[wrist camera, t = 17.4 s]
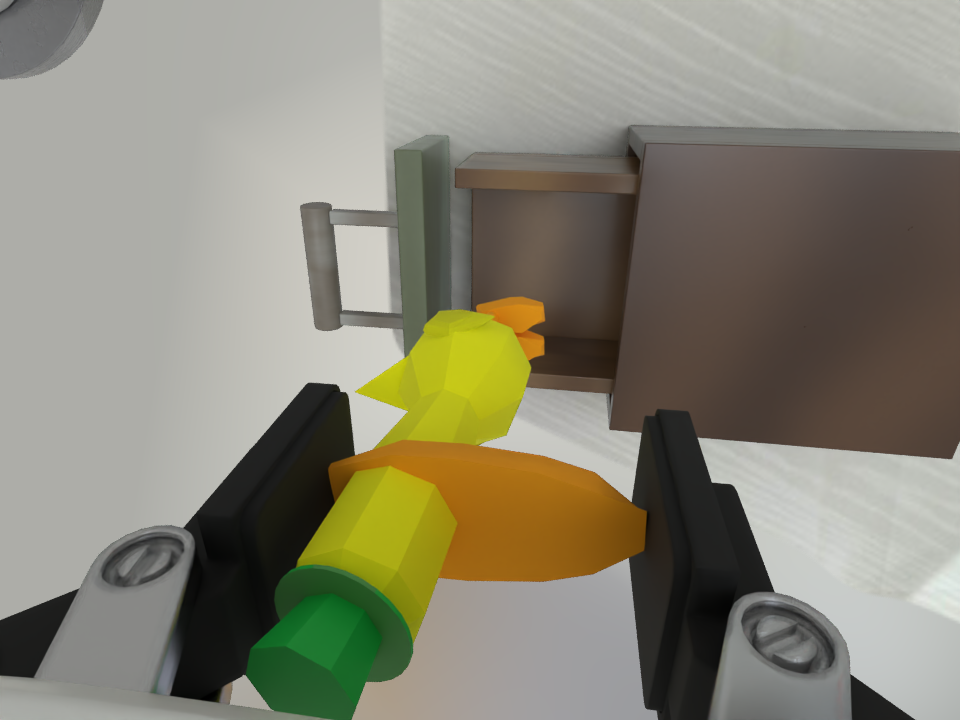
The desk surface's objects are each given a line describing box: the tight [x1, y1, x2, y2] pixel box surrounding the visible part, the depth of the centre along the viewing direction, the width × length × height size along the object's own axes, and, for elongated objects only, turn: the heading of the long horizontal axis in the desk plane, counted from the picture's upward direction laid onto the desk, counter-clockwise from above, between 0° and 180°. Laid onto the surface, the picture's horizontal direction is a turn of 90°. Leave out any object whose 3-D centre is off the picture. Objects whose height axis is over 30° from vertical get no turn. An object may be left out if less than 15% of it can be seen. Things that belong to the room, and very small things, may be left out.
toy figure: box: [246, 297, 647, 720], centre depth 12 cm, size 7×4×12 cm, turn 94°
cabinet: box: [606, 125, 960, 459], centre depth 27 cm, size 15×13×8 cm
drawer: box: [300, 135, 641, 394], centre depth 29 cm, size 18×11×6 cm, turn 89°
